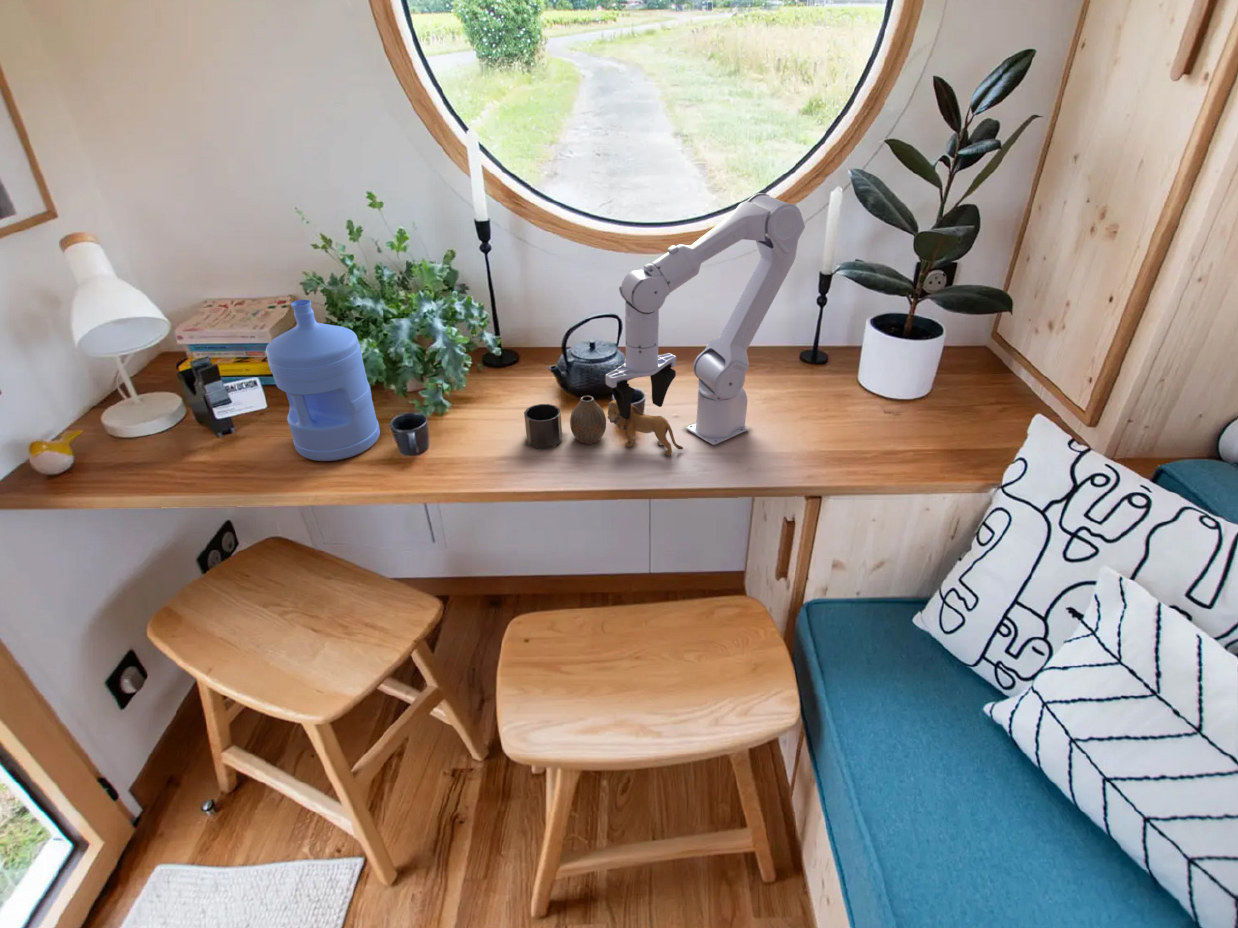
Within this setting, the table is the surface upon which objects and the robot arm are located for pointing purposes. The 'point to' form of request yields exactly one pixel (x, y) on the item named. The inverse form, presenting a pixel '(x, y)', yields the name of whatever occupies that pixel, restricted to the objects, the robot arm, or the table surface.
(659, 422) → the lion figurine
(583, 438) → the vase
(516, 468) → the table surface
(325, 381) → the water jug
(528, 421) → the tea cup
